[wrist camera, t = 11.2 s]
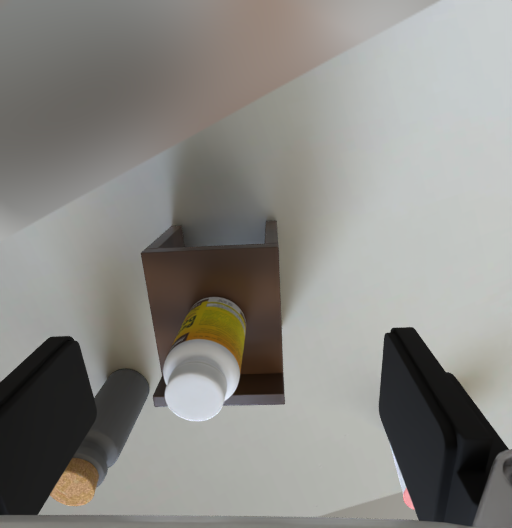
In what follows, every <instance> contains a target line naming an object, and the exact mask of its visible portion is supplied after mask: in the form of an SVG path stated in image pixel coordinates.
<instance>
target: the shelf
mask: <svg viewBox="0 0 512 528" xmlns="http://www.w3.org/2000/svg"><path fill="white" fill-rule="evenodd" d="M141 257H142V263H143V268H144V274H145V280H146V286H147V291H148V297H149V303H150V309H151V314H152V320H153V326H154V332H155V337H156V343H157V349H158V355H159V360H160V366H161V372H162V377H161V380H160V382H159V384H158V386H157V388H156V391H155V393H154V395H153V401H154V406H155V407H168V405H167V403H166V400H165V389H166V386H167V385H166V383H165V380H164V376H163V367H164V363H165V360H166V357H167V355H168V353H169V351H170V349H171V347H172V345H173V343H174V340H175V338H176V337H177V335H178V332H179V330H180V328H181V326H182V324H183V322H184V320H185V318H186V316H187V314H188V312H189V310H190V309H191V308H192V306H193V305H194V304H196V303H197V302H198V301H200V300H202V299H205V298H209V297H221V298H225V299H227V300H230V301H232V302H233V303H235V304H236V305H237V306H238V307H239V308H240V309H241V311H242V312H243V314H244V317H245V320H246V334H245V341H244V349H243V356H242V363H241V371H240V378H239V383H238V386H237V388H236V390H235V392H234V393H233V394H232V395H231V396H230V397H229V398H228V399H227V400H225V401H224V404H223V406H227V405H279V404H285V397H284V378H283V354H282V327H281V301H280V274H279V248H278V234H277V221H266V228H265V244H246V245H224V246H201V247H184V240H183V232H182V226H181V225H180V226H171V227H170V228H169V229H168V230H167V231H165V232H164V233H163V234H162V235H161V236H160V237H159V238H157V239H156V240H155V241H154V242H153V243H152V244H151V245H149V246H148V247H147V248H146V249H145V250H144V251H142V252H141Z"/></svg>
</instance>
